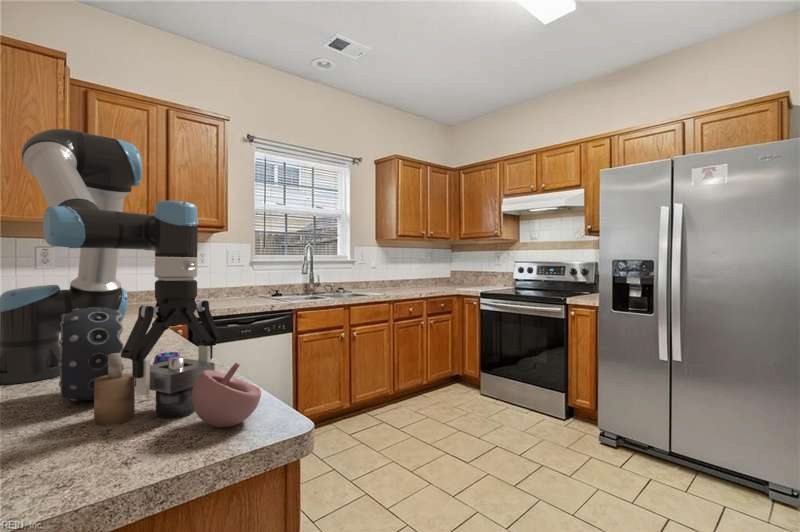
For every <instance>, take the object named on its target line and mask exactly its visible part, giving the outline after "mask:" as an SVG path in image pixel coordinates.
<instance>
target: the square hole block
mask: <svg viewBox="0 0 800 532" xmlns="http://www.w3.org/2000/svg"><path fill="white" fill-rule="evenodd" d="M215 365H216V364H215V362H211V361H210V362H205V361H198V359H197V360H196V359H192V358H191V359H189V358H185V357H184V367H183V368H179V369H175V370H172V369H168V361H166V362H162V363H157V364H153V363H152V364H150V391H155V392H156V391H159V392H164V393H169V394H172V393H175V392H178V391H181V390H184V389H187V388H190V387H193V386H194V384H195V382H196V380H197V379H198V377H199V376H200V375H201V373H202V372H203V371H204V370H213V371H216V370H215ZM135 388H136V378H135Z"/></svg>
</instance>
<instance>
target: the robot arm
mask: <svg viewBox="0 0 800 532" xmlns="http://www.w3.org/2000/svg"><path fill="white" fill-rule="evenodd" d="M21 159H22V163H23V165H24V167H25V169H26V170H27V172H28V173H29V174H31V176H33V177H35V178H36V180H37V183H38V185H39V187H40V189H41V192H42V195H43V197H44V198H45V201H46V203H47V205H48V207H47V208H46V209H45V211H44V213H43V220H42V232H43V239H44V241H45V242H46V244H48V245H49V246H52V247H57V248H58V247H59V248H60V247H61V248H69V249H80V250H79V251H80V252H79V261H78V273H77V277H76V278H74V279H72V280H71V281H70V283H69V285H70V286H69V289H61V287H60V285H58V284H47V285H46V284H45V285H35V286H26V287H20V288H15V289H10V290H5V291H4V292H2V294H0V385H6V384H7V385H8V384H11V385H12V384H22V383H30V382H37V381H42V380H47V379H51V378H55V377H58V376H59V377H60V367H59V366H58V363H59V362H60V344H59V340H60V334H61V326H60V323H61V322H62V318H61V316H62V315H63V314H67V313H70V312H71V311H72V310H74V309H84V308H93V307H97V308H109V309H113V310H117V311H119V312H121V314H122V318H121V319H120V320H121V323H122V321H124V318H125V316H126V313H127V309H128V303H129V302H128V293H127V290H126V289H125V288H123V287H122V284H121V282H120V281H119V280H118V279H117V278H116V277H117V269H118V260H119V259H118V257H119V250H144V251H154V277H155V278H157V280H155V282H154V299H155V301H156V303H155V306H153V305H142V304H141V305H140V306H139V308H138V316H137V320H136V321H135V323H134V324H133V327H132V329H131V332H130V334H129V336H128V338H127V340H126V342H125V344H124V348H123V351H122V352H121V357H122V359H128V360H131V361H132V363H131V366H132V367H131V368H132V370H131V371H132V375H133V377H134V378H136V387H135V394H136V395H139V396H140V395H141V396H145V397H147V396H149V395H150V394H151V393H150V392H151V390H150V365H151V362H150V360H151V359H150V358H149V359H148V358H147V357H148V355H150V352H151V351H152V350H153V348H154V347H155V345H156V344H157V343H158V341H159V340H160V338H161V337H162V336H163V334H164V333H165V332H166V330H168V329H169V328H170V327H178V326H179V325H180V326H184V325H186V326H187V327H188V328H189V329H190V330H191V332H192V333H193V335H195V337H196V338H197V339H198V340H199V341H200V343H201V344H200V345H198V351H197V353H198V356H197V357H198V359H197V360H198V361H205V362H211V360H212V359H213V352H214V351H213V347H214V346H216V345H217V343H218V342H219V341H221V338H222V336H221V335H220V332H219V330H218V328H217V325H216V323H215V320H214V318H213V316H212V314H211V311H210V303H209V300H203V299H198V300H196V298H197V297H198V281H197V280H196V279H195V278H197V276H198V240H199V239H198V237H199V233H198V232H199V231H198V230H199V217H198V207H197V205H195V204H194V203H192V202H187V201H179V200H159V201H157V202H156V203H155V208H154V209H155V210H154V213H153V214H150V213H149V214H148V213H136V212H126V211H125V212H124V201H125V199H124V198H126V197H127V196H129V195H130V194H131V193H132V187H137V186H139V185H140V184H141V181H142V179H143V164H142V158H141V155H140V152H139V150H138V148H137V147H136V146H135V145H134V144H133V143H131V142H128V141H125V140H121V139H117V138H113V137H107V136H102V135H97V134H92V133H86V132H83V131H77V130H76V131H75V130H73V129H68V128H52V129H47V130H46V129H45V130H42V131H40V132H37V133H35V134H34V135H32V136H31V137H29V138H28V139H27V140H26V142H25V143H24V144H23V146H22V149H21ZM195 312H196V313H197V315H196V314H195ZM155 316H156V317H155ZM197 316H198V317H199V318H198V317H197ZM154 317H155V319H154V320H153V318H154ZM150 326H151V327H150Z"/></svg>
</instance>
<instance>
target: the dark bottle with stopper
mask: <svg viewBox="0 0 800 532" xmlns="http://www.w3.org/2000/svg"><path fill="white" fill-rule="evenodd" d="M184 358H185V357H184V356H181V357H172V358H169V359H168V369H172V370H175V369H179V368H183V367H184ZM193 387H194V386H193ZM193 387H190V388H187V389H184V390H181V391H178V392H175V393H172V394H169V393H164V392H159V391H155V418H156V419H159V420H177V419H181V418H184V417H188V416H190V415H193V414H194V412H195V410H194V407H193V404H192V391H193ZM195 413H196V412H195Z"/></svg>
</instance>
